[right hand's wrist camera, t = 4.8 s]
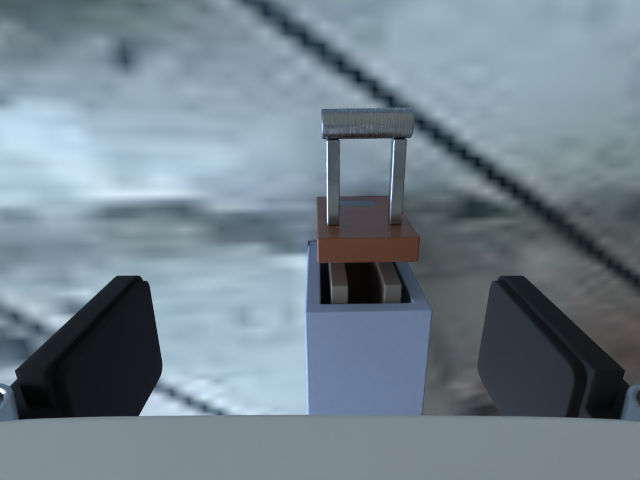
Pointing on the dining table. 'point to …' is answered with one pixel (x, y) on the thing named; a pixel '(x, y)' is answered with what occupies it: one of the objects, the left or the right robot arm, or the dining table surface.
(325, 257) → the drawer
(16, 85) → the dining table surface
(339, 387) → the cabinet
